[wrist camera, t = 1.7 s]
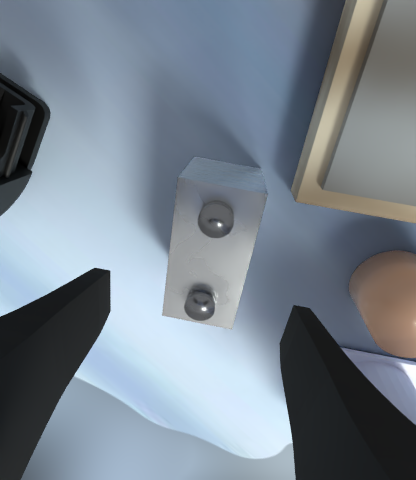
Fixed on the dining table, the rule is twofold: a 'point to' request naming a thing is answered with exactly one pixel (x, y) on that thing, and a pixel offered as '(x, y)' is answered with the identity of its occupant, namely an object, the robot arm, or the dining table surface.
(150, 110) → the dining table surface
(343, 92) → the birch plinth
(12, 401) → the robot arm
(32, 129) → the end cap
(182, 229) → the alloy housing
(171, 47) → the dining table surface
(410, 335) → the peach rounded cylinder
